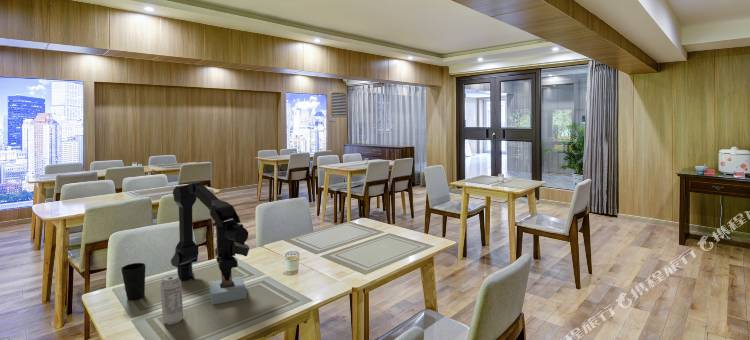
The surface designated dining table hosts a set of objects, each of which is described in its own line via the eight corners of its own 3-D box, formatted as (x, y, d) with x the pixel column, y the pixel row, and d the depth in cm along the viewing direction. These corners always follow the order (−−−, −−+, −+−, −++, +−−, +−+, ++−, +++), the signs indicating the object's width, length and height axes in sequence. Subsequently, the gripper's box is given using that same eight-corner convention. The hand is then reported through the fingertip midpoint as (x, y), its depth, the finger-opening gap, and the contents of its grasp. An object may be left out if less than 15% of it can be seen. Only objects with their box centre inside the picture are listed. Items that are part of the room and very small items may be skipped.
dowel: (221, 284, 152) (220, 264, 151) (231, 282, 154) (230, 262, 153) (222, 287, 149) (221, 267, 148) (232, 286, 151) (231, 265, 150)
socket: (209, 291, 155) (208, 281, 154) (241, 286, 160) (241, 276, 160) (212, 304, 144) (211, 294, 144) (246, 298, 149) (246, 287, 149)
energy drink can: (183, 314, 137) (180, 272, 135) (184, 322, 132) (181, 279, 130) (163, 319, 134) (159, 276, 132) (163, 327, 129) (160, 282, 127)
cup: (120, 303, 145) (118, 271, 144) (127, 294, 153) (125, 263, 151) (144, 300, 148) (142, 269, 146) (150, 291, 155) (147, 261, 153)
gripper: (251, 242, 144) (253, 284, 147) (243, 229, 161) (245, 266, 163) (218, 247, 140) (220, 289, 142) (213, 233, 156) (215, 271, 158)
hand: (226, 278), depth 151 cm, fingers closed on dowel, 4 cm apart
